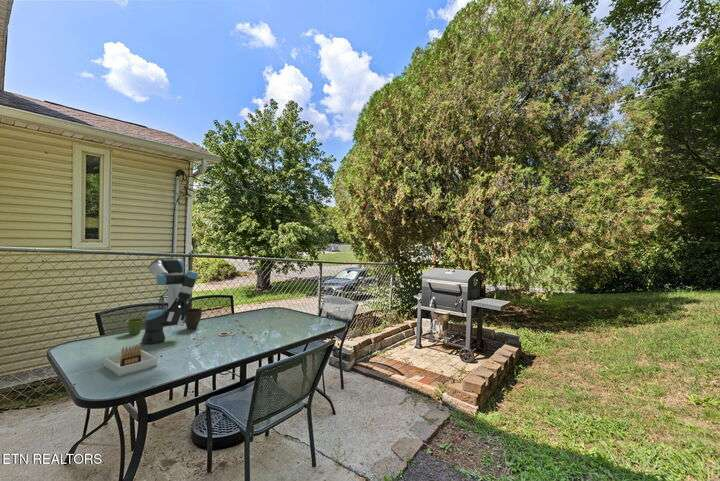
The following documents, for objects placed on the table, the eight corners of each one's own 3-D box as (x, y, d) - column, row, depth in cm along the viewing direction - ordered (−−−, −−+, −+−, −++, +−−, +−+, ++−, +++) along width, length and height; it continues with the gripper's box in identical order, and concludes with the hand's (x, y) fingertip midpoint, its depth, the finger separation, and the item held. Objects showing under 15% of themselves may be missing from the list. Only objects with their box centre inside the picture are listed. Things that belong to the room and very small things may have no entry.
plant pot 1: (136, 336, 250) (137, 322, 250) (121, 335, 250) (122, 321, 250) (147, 332, 261) (147, 318, 261) (132, 331, 262) (133, 317, 262)
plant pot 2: (178, 329, 272) (179, 311, 272) (190, 325, 287) (191, 307, 287) (193, 331, 270) (194, 312, 270) (205, 326, 285) (206, 309, 285)
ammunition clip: (120, 367, 190) (122, 347, 190) (119, 366, 191) (120, 347, 191) (141, 362, 198) (142, 343, 199) (139, 361, 200) (140, 342, 200)
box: (104, 366, 192) (104, 358, 192) (141, 357, 209) (141, 349, 209) (119, 376, 180) (119, 367, 180) (156, 366, 197) (157, 358, 197)
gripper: (200, 296, 218) (189, 327, 213) (180, 291, 231) (169, 320, 226) (190, 294, 212) (178, 326, 207) (170, 289, 225) (159, 318, 220)
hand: (173, 323), depth 216 cm, fingers open, 13 cm apart
